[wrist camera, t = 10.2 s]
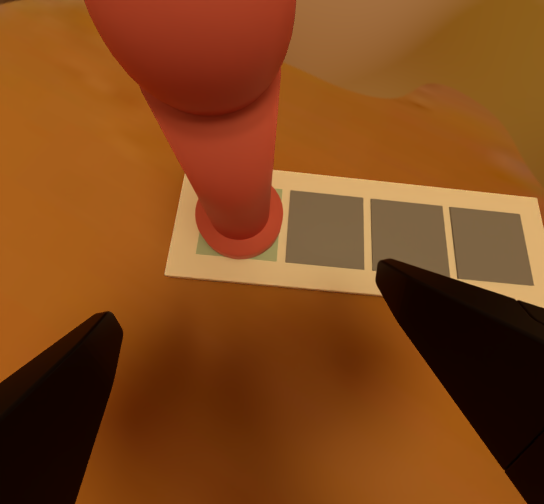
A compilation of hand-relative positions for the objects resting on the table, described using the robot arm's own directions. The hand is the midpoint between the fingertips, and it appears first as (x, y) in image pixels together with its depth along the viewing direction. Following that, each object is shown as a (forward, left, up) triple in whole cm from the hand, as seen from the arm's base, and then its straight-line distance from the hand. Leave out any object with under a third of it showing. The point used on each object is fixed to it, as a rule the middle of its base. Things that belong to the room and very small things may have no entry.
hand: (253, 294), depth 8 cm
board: (+9, -3, -8) cm, 12 cm away
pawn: (+4, +5, -7) cm, 9 cm away
